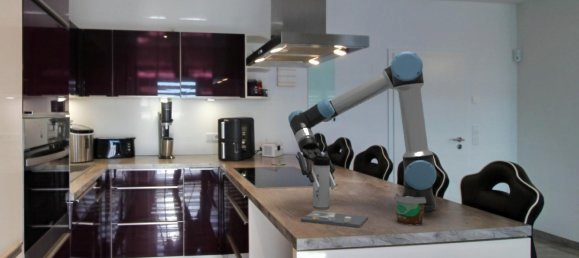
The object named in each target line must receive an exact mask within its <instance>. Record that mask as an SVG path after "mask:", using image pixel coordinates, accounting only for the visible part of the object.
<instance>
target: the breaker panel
mask: <svg viewBox="0 0 579 258" xmlns="http://www.w3.org/2000/svg"><path fill="white" fill-rule="evenodd" d="M368 220H369V216H366V215H356V214H345V213H337V212H328V211H320V210H317V211H316V210H313V211H311V212H310V213H307V214H306V215H305V216H303V217H301V218H300V222H302V223H303V222H304V223H313V224H319V225H320V224H322V225H330V226H331V225H332V226H339V227H340V226H341V227H348V228H361V227H362V226H363V225H364V224H365V223H366V222H367V221H368Z"/></svg>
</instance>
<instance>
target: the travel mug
mask: <svg viewBox="0 0 579 258" xmlns="http://www.w3.org/2000/svg"><path fill="white" fill-rule="evenodd" d="M330 160H331V158H330V157H329V158H328V157H323V156H316V157H314V161H313V165H312V173H315V176H316V178H317V181H318V183H319V186H320V187H319V189H318V190H317V191H315V188H314V186H313V185H312V209H314V210H315V211H316V210H317V211H326V210H329V209H330V189H331V187H330Z"/></svg>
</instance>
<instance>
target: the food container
mask: <svg viewBox="0 0 579 258" xmlns="http://www.w3.org/2000/svg"><path fill="white" fill-rule="evenodd" d="M393 200H394V201H395V207H396V209H395V211H396V219H397V220H396V221H397V222H398V223H399V224H402V223H403V224H402V225H408V224H412V225H411V226H417V225H416V224H420V225H422V224H423V219H424V218H423V217H424V204H425V203H426V199H425V197H419V198H415V197H412V196H402V195H399V193H398V192H395V194H394V197H393Z"/></svg>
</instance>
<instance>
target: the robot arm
mask: <svg viewBox="0 0 579 258" xmlns="http://www.w3.org/2000/svg"><path fill="white" fill-rule="evenodd" d="M423 64H424V63H423V60H422V59H421V57H420V55H418V54H417V53H416V52H413V51H408V50H406V51H401V52H399V53H398V54H396V55H395V56H394V57H393V58H392V60H391V62H390V66H388V67H386V68H384V69H383V70H382V73H380V74H377V75H376V76H374V77H372V78H371V79H369V80H366V81H365V82H363V83H361V84H359V85H357V86H355V87H353V88H351V89H349V90H348V91H345V92H344V93H342V94H340V95H338V96H336V97H335V98H332V99H331V100H328V99H323V100H320V101H319V102H318V103H316V104H315V105H313V106H311V107H310V108H308V109H306V110H305V111H303V110H300V109H297V110H294V111H292V112H290V114H289V115H288V118H287V120H288V123H289V126H290V129H291V131H292V134H293V135H294V139H295V140H296V143H297V146H298V149H299V151H297V153H296V155H295V158H296V159H297V161H298V165H299V169H300V171H301V175H302V176H305V177H306V178H307V179H308V180H309V182H310V183H312V187H313V186H314V188H315V191H317V190H318V189H319V187H320V186H319V183H318V181H317V178H316V176H315V173H313V165H312V164H313V162H314V157H316V156H323V157H328V158H330V156H329V153H328V151H324V152H323V151H321V150H320V149H319V145H318V141H317V139H316V137H315V135H314V132H313V131H312V130H313V129H312V128H314V127H315V126H317V125H319V124H321V123H322V122H324V123H326V122H330V121H331V120H332V119H334V118H336V117H338V116H340V115H341V114H344V113H345V112H347V111H350V110H352V109H353V108H356V107H358V106H359V105H361V104H363V103H365V102H368V101H369V100H370V99H373V98H375V97H377V96H378V95H381V94H382V93H385V92H387V91H388V90H395V91H396V92H397V93H398V101H399V108H400V115H401V116H400V117H401V123H402V124H401V126H402V132H403V140H404V148H405V152H404V154H402V163H403V191H402V194H401V196H412V197H415V198H419V197H425V199H426V203H425V204H424V211H427V212H434V211H437V202H436V198H435V197H434V192H433V185H434V183H436V180H437V170H436V167H435V162H434V161H435V160H434V153H433V152H432V151H431V150H430V149H429V145H428V138H427V129H426V123H425V122H426V121H425V115H424V114H425V113H424V105H423V98H422V91H421V90H422V88H423V87H424V85H425V83H424V82H425V81H424V80H425V79H424V74H423V68H424V65H423ZM305 162H306V163H305ZM335 171H336V167H335V166H334V164H333V163H332V160H331V159H330V189H331V191H334V190H335V187H336V186H337V185H336V182H335V176H334V173H335ZM433 210H434V211H433Z"/></svg>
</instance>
